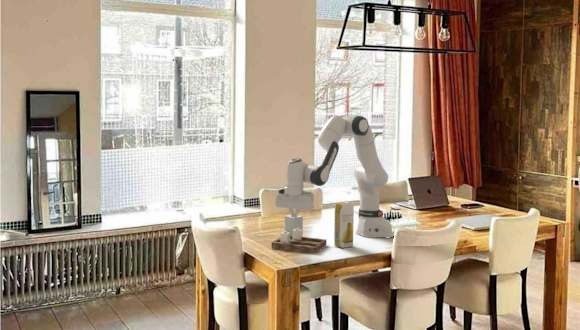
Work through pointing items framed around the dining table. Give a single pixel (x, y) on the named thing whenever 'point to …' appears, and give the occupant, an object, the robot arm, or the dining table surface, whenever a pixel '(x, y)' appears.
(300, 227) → the supplement box
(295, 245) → the switch board
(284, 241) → the tab
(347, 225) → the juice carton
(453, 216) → the dining table surface
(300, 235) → the tab
